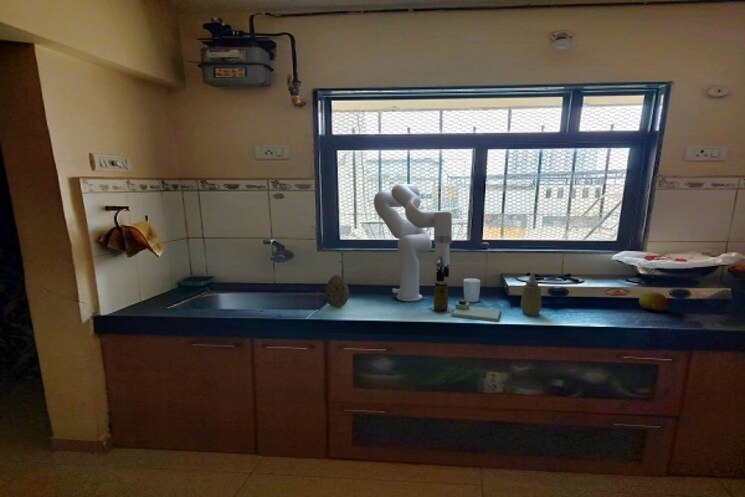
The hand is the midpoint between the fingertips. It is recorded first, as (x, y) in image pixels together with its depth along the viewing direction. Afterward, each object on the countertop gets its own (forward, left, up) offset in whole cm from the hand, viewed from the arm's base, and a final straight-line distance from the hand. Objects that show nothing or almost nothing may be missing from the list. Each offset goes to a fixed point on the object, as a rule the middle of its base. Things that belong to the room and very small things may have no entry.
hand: (442, 278), depth 153 cm
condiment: (0, 0, -14) cm, 14 cm away
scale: (+15, 0, -14) cm, 20 cm away
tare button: (+8, +3, -12) cm, 14 cm away
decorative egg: (-46, -13, -14) cm, 50 cm away
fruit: (+84, +32, -14) cm, 91 cm away
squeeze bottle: (+36, +8, -14) cm, 39 cm away
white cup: (+10, +20, -14) cm, 27 cm away
